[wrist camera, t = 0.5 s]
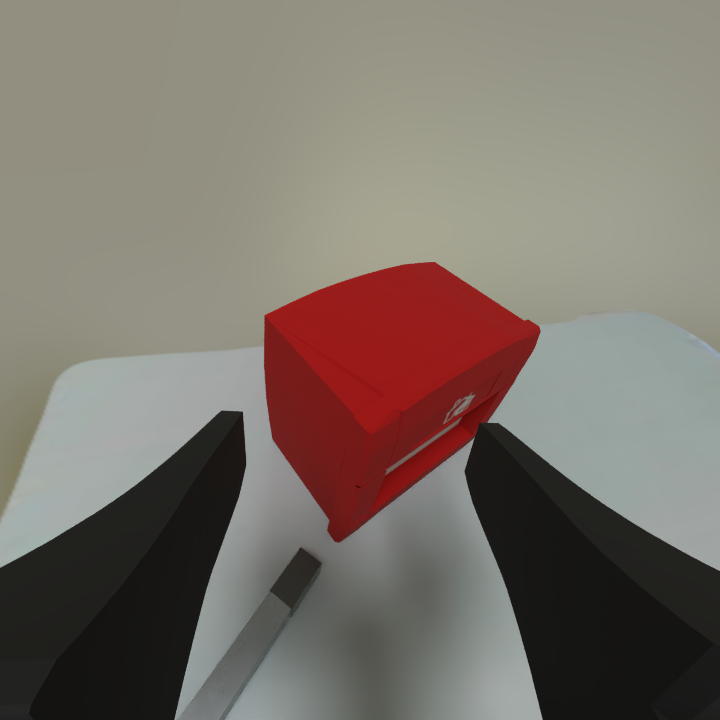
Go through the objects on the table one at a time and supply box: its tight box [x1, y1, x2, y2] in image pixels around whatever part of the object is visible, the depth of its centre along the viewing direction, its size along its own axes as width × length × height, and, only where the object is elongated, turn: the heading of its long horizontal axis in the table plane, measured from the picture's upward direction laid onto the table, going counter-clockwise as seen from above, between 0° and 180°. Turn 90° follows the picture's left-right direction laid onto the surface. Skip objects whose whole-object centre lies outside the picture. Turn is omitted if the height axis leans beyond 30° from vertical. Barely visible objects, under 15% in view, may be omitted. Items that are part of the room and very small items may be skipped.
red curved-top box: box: [264, 262, 541, 542], centre depth 28 cm, size 16×11×15 cm
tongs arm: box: [179, 548, 322, 720], centre depth 19 cm, size 16×3×2 cm, turn 148°
